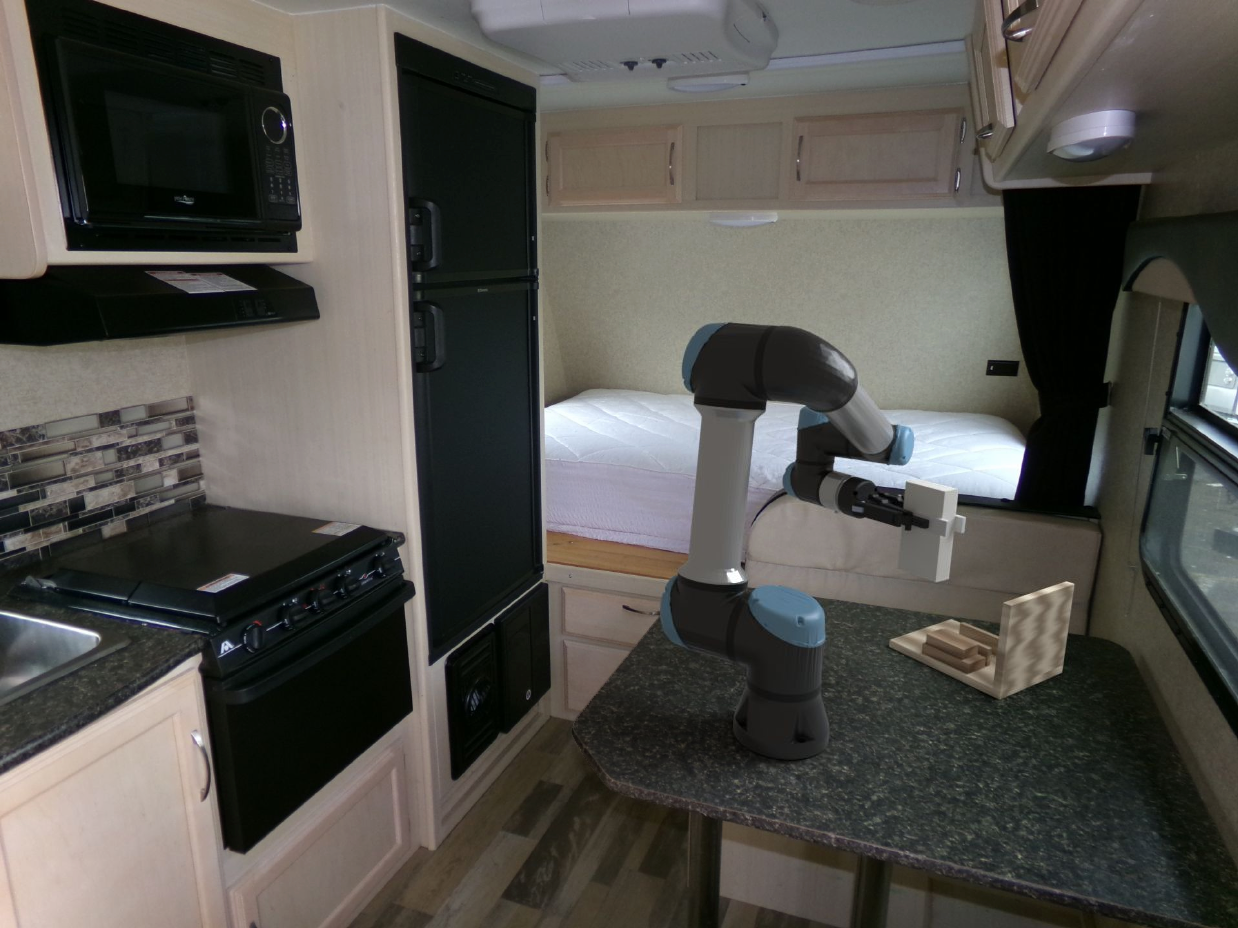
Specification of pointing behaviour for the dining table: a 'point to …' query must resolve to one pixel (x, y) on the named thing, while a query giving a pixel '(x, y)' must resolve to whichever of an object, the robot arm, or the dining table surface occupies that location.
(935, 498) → the white block
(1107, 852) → the dining table surface
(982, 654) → the maple rack
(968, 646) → the walnut offcuts
